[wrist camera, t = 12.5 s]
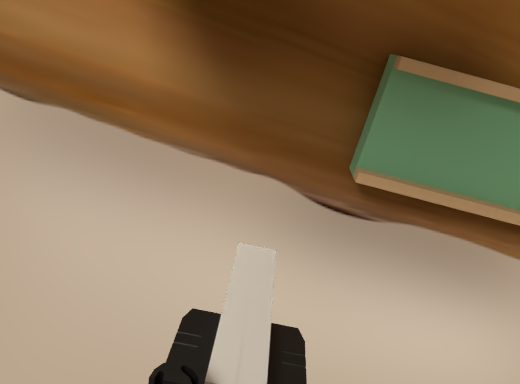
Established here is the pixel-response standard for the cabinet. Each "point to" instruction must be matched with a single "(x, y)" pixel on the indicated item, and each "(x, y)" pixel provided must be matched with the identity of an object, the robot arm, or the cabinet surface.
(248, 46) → the cabinet surface
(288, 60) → the cabinet surface
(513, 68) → the cabinet surface
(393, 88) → the putting strip
